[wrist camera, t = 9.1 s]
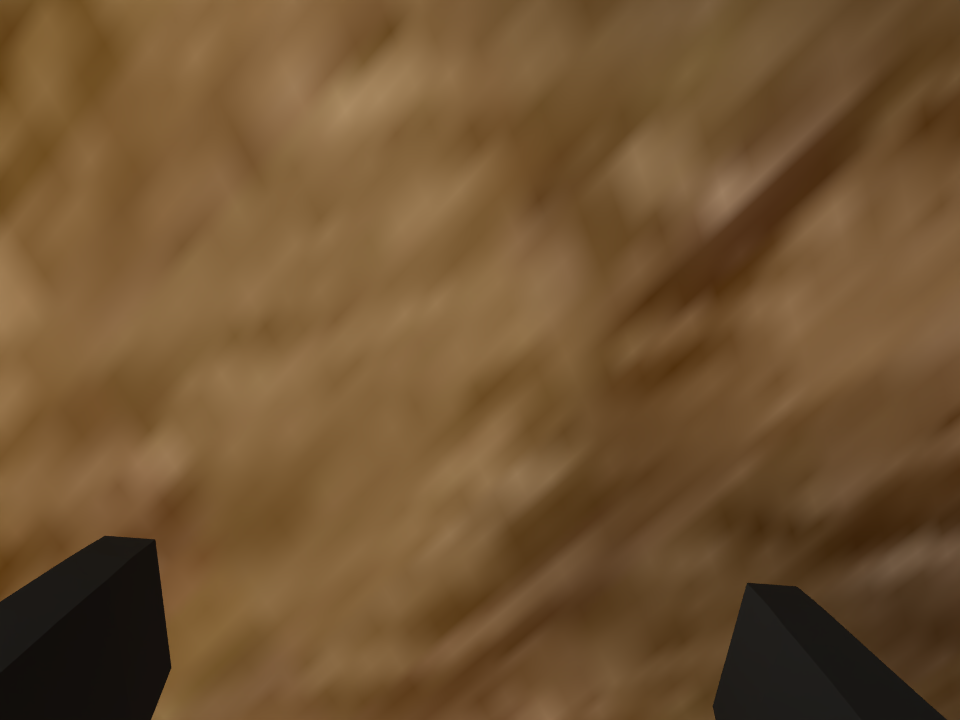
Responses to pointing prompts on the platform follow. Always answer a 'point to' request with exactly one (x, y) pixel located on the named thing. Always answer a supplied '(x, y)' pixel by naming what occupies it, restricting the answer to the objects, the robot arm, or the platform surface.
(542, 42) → the platform surface
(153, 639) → the robot arm
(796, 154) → the platform surface
